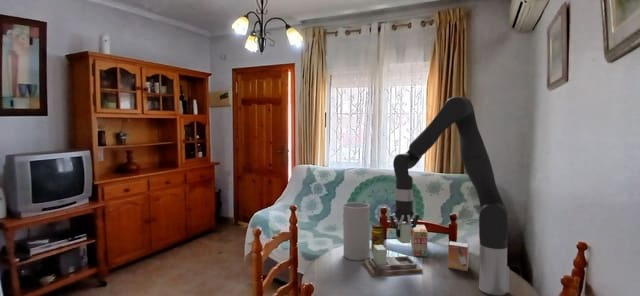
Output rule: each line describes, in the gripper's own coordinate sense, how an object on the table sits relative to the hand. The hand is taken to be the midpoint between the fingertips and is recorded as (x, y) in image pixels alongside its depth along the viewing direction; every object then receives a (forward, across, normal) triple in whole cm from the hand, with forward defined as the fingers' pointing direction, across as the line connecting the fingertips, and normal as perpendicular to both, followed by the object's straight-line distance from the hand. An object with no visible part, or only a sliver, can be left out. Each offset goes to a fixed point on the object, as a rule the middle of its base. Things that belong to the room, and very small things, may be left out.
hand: (403, 237), depth 148 cm
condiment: (+14, -3, +26) cm, 30 cm away
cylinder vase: (+14, -17, +16) cm, 27 cm away
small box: (+14, +24, -4) cm, 28 cm away
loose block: (+2, 0, 0) cm, 2 cm away
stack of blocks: (+14, +17, +21) cm, 30 cm away
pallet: (+14, -5, 0) cm, 15 cm away
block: (+12, -11, 0) cm, 16 cm away
